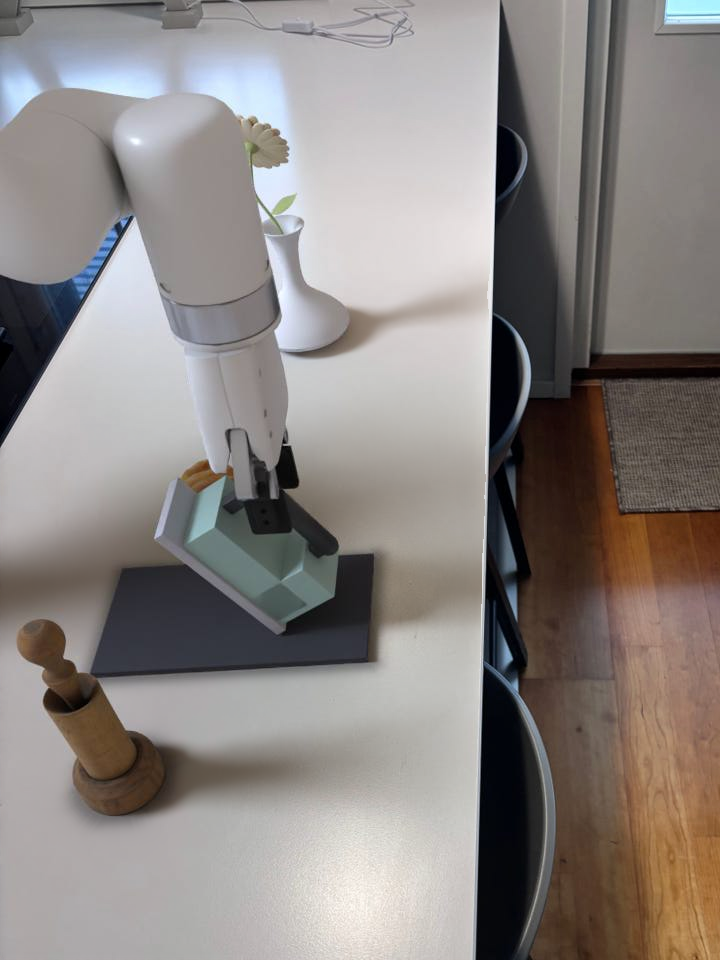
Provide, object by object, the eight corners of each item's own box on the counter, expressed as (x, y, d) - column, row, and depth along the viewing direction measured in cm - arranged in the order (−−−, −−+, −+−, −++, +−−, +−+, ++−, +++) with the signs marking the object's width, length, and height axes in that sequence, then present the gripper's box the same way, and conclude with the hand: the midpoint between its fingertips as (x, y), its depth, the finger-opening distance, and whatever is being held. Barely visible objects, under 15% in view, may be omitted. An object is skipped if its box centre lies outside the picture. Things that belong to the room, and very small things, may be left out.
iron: (153, 539, 77) (240, 484, 73) (169, 482, 82) (252, 427, 78) (277, 635, 86) (361, 590, 82) (285, 578, 91) (365, 533, 87)
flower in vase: (370, 325, 120) (336, 108, 102) (310, 371, 114) (262, 149, 96) (291, 299, 126) (245, 88, 107) (229, 342, 120) (169, 126, 101)
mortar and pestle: (64, 791, 77) (-40, 639, 64) (125, 733, 81) (39, 578, 67) (121, 830, 75) (26, 680, 61) (182, 769, 78) (104, 614, 65)
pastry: (266, 529, 96) (257, 500, 94) (199, 553, 95) (188, 523, 92) (239, 476, 102) (230, 446, 99) (176, 497, 101) (165, 468, 98)
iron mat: (91, 677, 85) (89, 673, 85) (124, 572, 94) (122, 567, 93) (367, 662, 84) (366, 657, 84) (374, 557, 93) (373, 552, 93)
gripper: (188, 245, 72) (245, 447, 85) (141, 377, 61) (215, 585, 74) (290, 239, 72) (330, 442, 85) (262, 371, 60) (313, 580, 74)
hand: (276, 507), depth 80 cm, fingers closed on iron, 4 cm apart
